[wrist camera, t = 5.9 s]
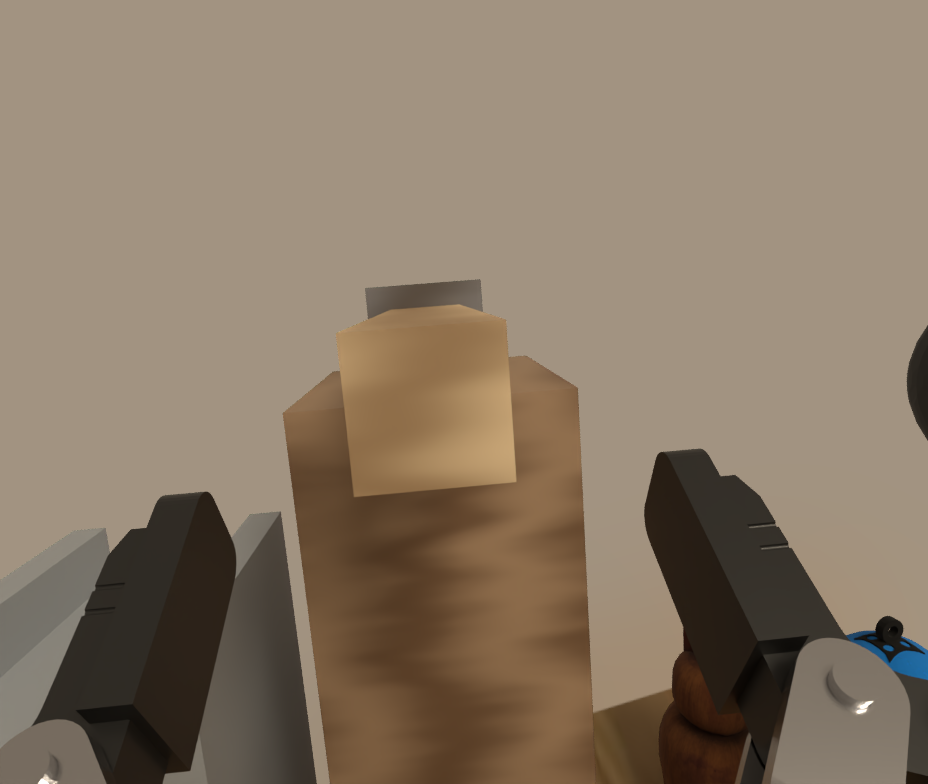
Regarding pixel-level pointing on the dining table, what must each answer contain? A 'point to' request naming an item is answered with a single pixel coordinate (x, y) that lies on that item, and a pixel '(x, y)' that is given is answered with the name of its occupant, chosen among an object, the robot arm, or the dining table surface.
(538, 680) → the walnut post
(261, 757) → the grey post
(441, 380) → the light wooden block
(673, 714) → the wooden figurine
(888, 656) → the ornament
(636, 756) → the dining table surface
